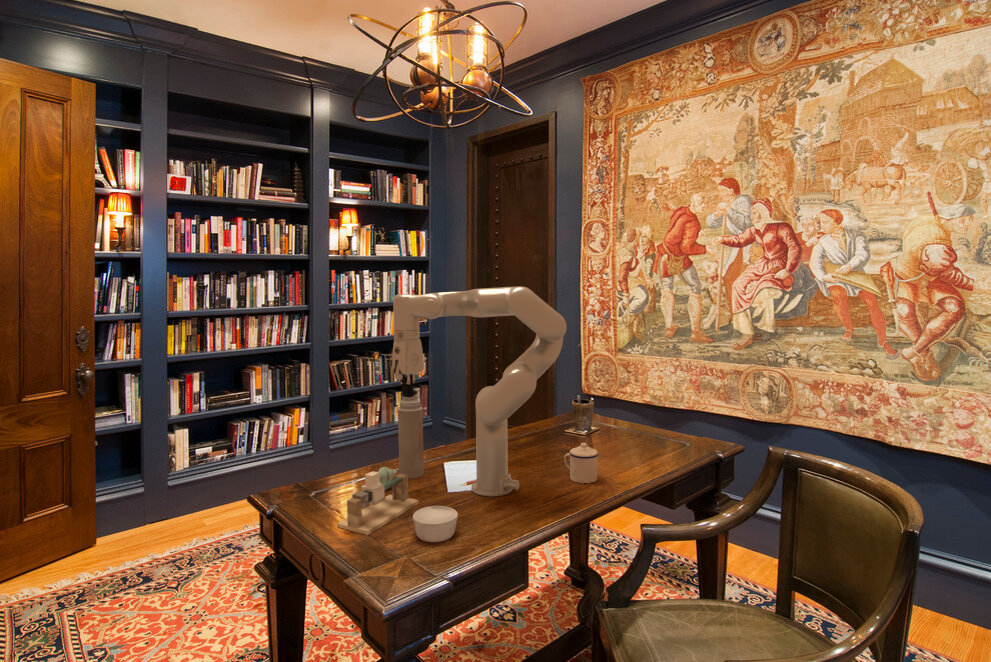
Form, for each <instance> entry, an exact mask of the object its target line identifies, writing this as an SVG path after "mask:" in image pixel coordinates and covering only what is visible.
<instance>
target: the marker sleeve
mask: <svg viewBox="0 0 991 662" xmlns="http://www.w3.org/2000/svg"><path fill="white" fill-rule="evenodd" d="M364 479H365V480H364V483H365V484H363V485H361V486H360V492H363V491H365V490H368V491H369V492H372V500H371V501H370V502H369V503H368V505H369V506H370V505H377V504H379V503H380V502H382V501H384V500H385V497H386V496H385V491H384V484H381V483H380V473H379V472H378V471H370V472H368V473H365V474H364Z"/></svg>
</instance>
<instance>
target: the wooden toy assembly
mask: <svg viewBox="0 0 991 662" xmlns="http://www.w3.org/2000/svg"><path fill="white" fill-rule="evenodd" d="M390 488H391V493H392V494H391V493H390V494H388V495H387V496H385V500H384V501H382V502H380V503H379V504H377V505H370V504H368V503H369V502H370V501H371V500H372V492H369V491H368V490H365V491H363V492H361V491H356V492H354V493H353V494H351V498H348V499H347V500H346V507H347V508H346V509H347V517H346V518H344V519H343V520H342V521H339V522H338V523H337V525H336V527H337V528H338V527H339V529H342V528H343V530H346V529H347V530H346V531H351V532H353V533H354V532H355V533H358V534H361V535H362V534H363V535H366V536H368V535H370V534H372V533H373V532H375V531H377V530H378V529H380V528H381V527H383V526H384V525H386V524H388V523H389V522H391V521H393V520H394V519H396V518H398V517H400V516H401V515H402V514H404V513H406V512H407V511H409V510H411V509H412V508H414V507H415V506H417V505H419V499H415V498H411V497H409V479H408V475H404V474H399V473H398V474H395V476H394V479H392V480H391V481H389V482H387V483H385V484H384V492H385V491H386V490H389V489H390Z"/></svg>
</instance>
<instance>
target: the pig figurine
mask: <svg viewBox="0 0 991 662" xmlns="http://www.w3.org/2000/svg"><path fill="white" fill-rule="evenodd" d="M398 471H399V470H395V469H393V468H392V469H391V468H389V467H387V466H382V467H380V468H379V470H378V471H377V472H379V473H380V483H381V484H385V483H387V482H389V481H391V480H393V478H395V476H396V475H397V473H399V472H398Z"/></svg>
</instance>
